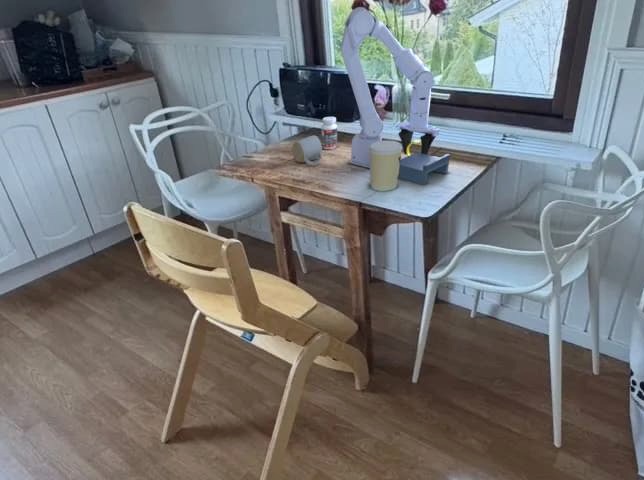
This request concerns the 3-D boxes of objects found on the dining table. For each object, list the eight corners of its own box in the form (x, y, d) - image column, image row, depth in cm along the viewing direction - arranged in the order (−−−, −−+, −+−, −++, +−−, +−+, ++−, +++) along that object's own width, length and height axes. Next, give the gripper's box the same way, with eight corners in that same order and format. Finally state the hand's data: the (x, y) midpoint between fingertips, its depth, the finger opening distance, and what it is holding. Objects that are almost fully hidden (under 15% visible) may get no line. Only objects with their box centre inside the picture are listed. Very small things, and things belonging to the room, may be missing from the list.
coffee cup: (405, 187, 153) (408, 146, 145) (376, 194, 151) (378, 152, 144) (390, 177, 160) (392, 138, 152) (362, 183, 158) (363, 143, 151)
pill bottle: (326, 150, 186) (325, 121, 180) (318, 146, 190) (318, 118, 184) (340, 147, 187) (340, 118, 181) (332, 143, 191) (332, 115, 185)
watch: (404, 159, 171) (405, 141, 168) (408, 156, 173) (410, 138, 169) (421, 162, 168) (423, 143, 164) (425, 159, 169) (427, 140, 166)
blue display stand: (391, 175, 161) (392, 158, 158) (415, 164, 167) (416, 147, 163) (424, 184, 153) (426, 166, 150) (447, 172, 159) (450, 154, 156)
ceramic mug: (291, 160, 181) (290, 138, 176) (311, 154, 183) (310, 132, 178) (307, 168, 173) (306, 145, 168) (327, 163, 176) (327, 140, 171)
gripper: (447, 111, 158) (441, 155, 167) (408, 105, 168) (404, 147, 176) (433, 116, 155) (428, 162, 163) (394, 110, 164) (391, 153, 173)
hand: (415, 155), depth 169 cm, fingers closed on watch, 6 cm apart
